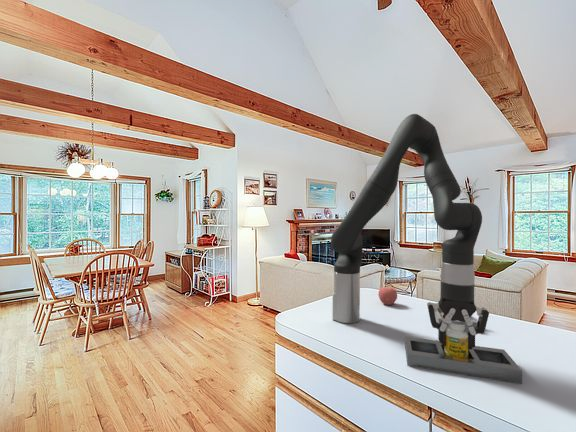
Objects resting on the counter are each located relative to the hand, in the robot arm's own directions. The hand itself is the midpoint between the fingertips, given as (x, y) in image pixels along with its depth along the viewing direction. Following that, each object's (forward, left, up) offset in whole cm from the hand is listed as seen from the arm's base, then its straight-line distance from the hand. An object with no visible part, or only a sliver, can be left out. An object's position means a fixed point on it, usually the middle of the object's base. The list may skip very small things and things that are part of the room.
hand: (456, 346), depth 75 cm
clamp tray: (+5, +34, -4) cm, 35 cm away
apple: (-17, +46, -5) cm, 50 cm away
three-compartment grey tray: (0, 0, -4) cm, 4 cm away
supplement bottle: (0, 0, -4) cm, 4 cm away
